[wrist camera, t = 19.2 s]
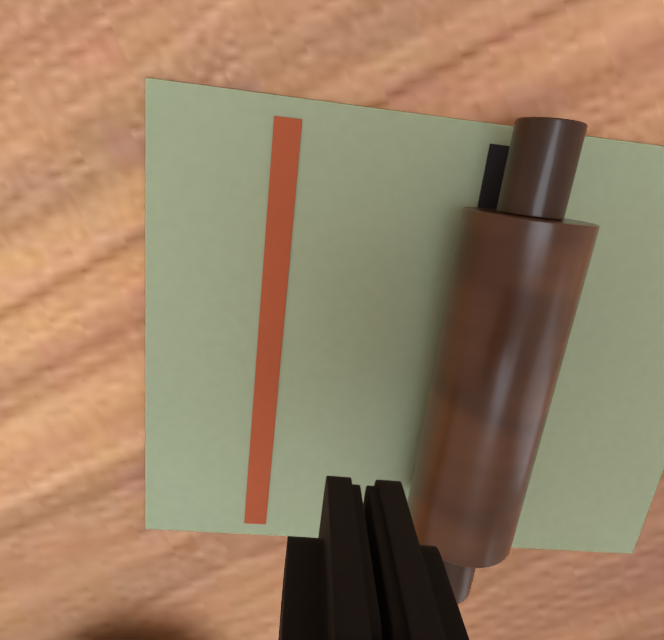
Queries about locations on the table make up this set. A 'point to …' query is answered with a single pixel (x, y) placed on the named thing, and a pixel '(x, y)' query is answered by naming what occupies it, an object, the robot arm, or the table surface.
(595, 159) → the baking mat
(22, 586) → the table surface
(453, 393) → the rolling pin
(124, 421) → the table surface
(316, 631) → the robot arm
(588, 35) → the table surface
